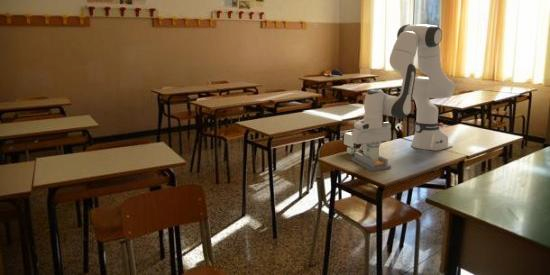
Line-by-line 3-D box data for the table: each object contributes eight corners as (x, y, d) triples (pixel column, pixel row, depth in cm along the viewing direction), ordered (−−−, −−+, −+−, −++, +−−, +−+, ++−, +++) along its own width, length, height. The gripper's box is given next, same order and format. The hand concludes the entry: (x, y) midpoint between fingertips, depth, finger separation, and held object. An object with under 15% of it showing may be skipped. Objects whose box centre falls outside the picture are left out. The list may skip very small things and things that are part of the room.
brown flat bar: (367, 156, 211) (367, 154, 211) (383, 164, 198) (383, 162, 198) (358, 157, 209) (358, 155, 209) (373, 165, 196) (374, 163, 196)
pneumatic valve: (355, 157, 215) (356, 134, 212) (341, 151, 225) (341, 130, 222) (363, 155, 218) (364, 133, 215) (348, 150, 228) (349, 128, 225)
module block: (370, 156, 207) (371, 141, 205) (378, 160, 201) (379, 144, 199) (363, 157, 206) (364, 141, 204) (371, 161, 199) (372, 145, 197)
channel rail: (369, 157, 214) (370, 149, 213) (390, 168, 198) (391, 159, 196) (351, 160, 210) (351, 151, 209) (371, 171, 194) (371, 162, 193)
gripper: (387, 120, 205) (385, 147, 209) (351, 123, 198) (349, 151, 202) (394, 122, 199) (393, 150, 203) (358, 126, 192) (356, 154, 196)
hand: (371, 150), depth 202 cm, fingers closed on module block, 4 cm apart
